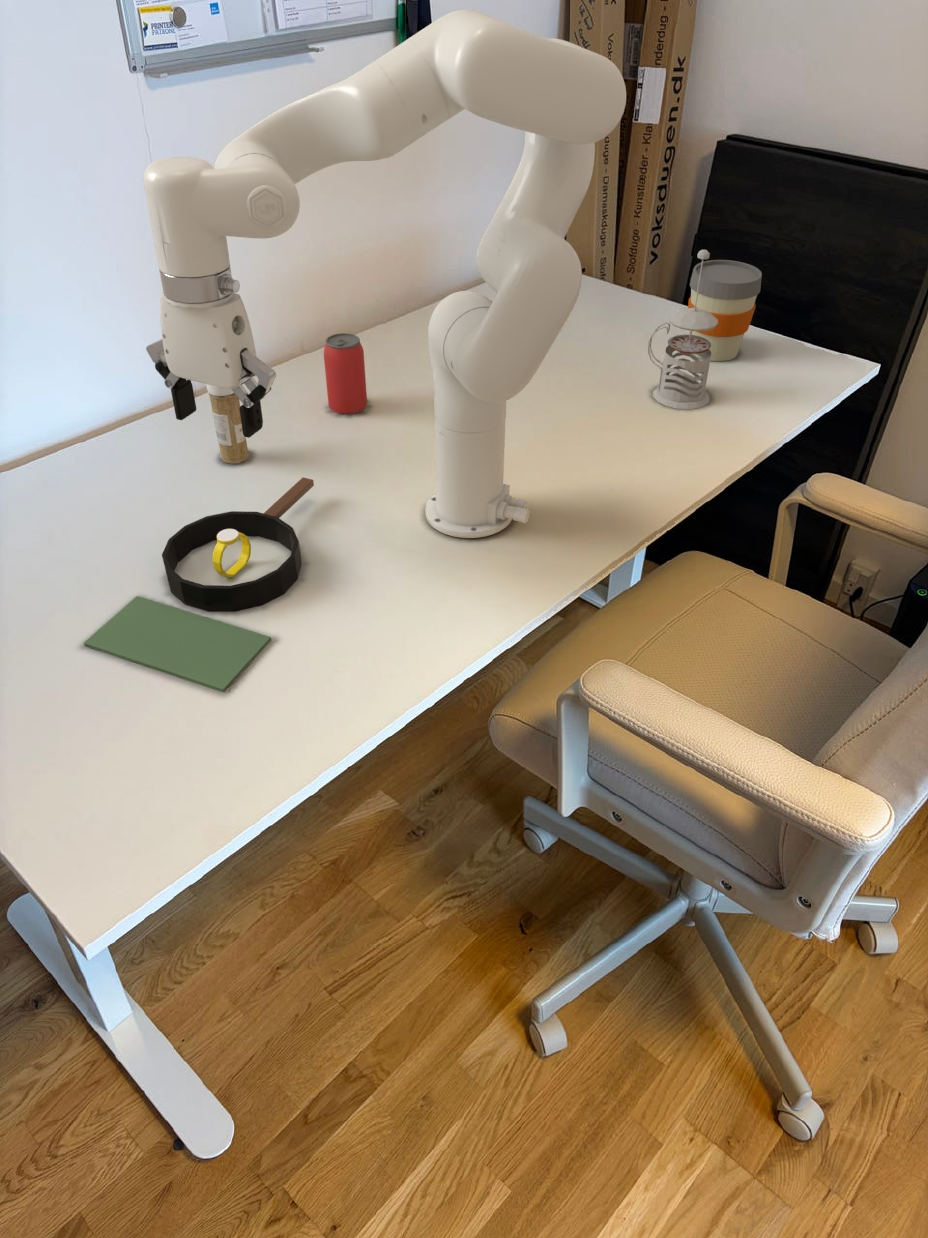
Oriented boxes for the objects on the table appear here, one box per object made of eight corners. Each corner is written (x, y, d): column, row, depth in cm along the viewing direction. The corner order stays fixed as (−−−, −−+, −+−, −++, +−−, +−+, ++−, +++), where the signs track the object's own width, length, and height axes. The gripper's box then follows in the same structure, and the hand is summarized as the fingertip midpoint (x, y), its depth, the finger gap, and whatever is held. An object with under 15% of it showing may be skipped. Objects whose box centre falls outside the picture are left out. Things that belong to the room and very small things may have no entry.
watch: (242, 556, 129) (235, 519, 125) (258, 562, 128) (251, 525, 124) (211, 579, 125) (204, 542, 121) (228, 586, 124) (220, 548, 120)
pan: (254, 626, 118) (249, 601, 115) (141, 591, 123) (134, 567, 121) (362, 511, 138) (360, 489, 135) (260, 486, 143) (257, 464, 140)
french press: (705, 412, 161) (732, 263, 145) (637, 402, 164) (656, 255, 148) (713, 388, 168) (739, 243, 152) (647, 378, 171) (667, 235, 155)
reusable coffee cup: (666, 344, 183) (678, 265, 173) (720, 333, 187) (734, 255, 177) (705, 370, 174) (720, 288, 164) (761, 357, 178) (778, 277, 169)
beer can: (321, 412, 161) (314, 344, 153) (340, 395, 166) (334, 328, 158) (356, 419, 159) (351, 350, 152) (374, 402, 164) (369, 335, 156)
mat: (271, 640, 116) (270, 637, 115) (223, 692, 109) (223, 689, 108) (137, 598, 122) (137, 595, 122) (84, 645, 115) (83, 642, 115)
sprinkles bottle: (254, 459, 149) (241, 379, 140) (226, 467, 147) (212, 387, 138) (242, 447, 152) (229, 368, 143) (215, 455, 150) (200, 375, 141)
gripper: (283, 285, 105) (297, 425, 116) (155, 260, 110) (180, 396, 121) (243, 308, 99) (262, 453, 110) (111, 280, 105) (141, 421, 116)
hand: (219, 423), depth 116 cm, fingers open, 9 cm apart
